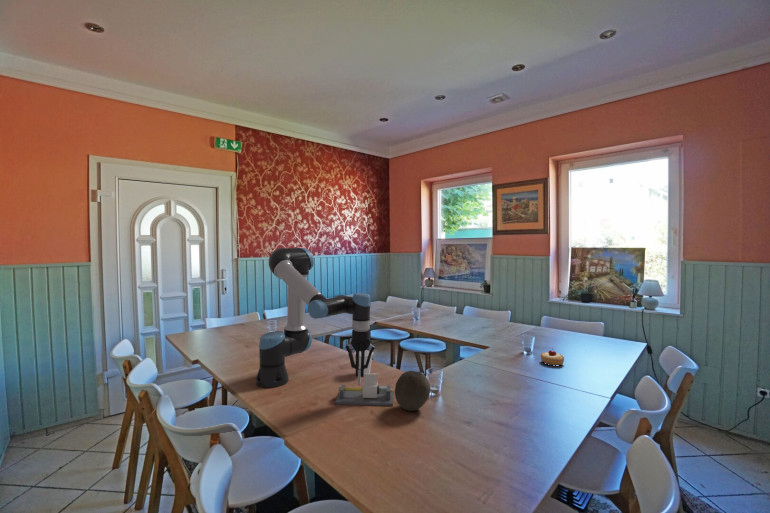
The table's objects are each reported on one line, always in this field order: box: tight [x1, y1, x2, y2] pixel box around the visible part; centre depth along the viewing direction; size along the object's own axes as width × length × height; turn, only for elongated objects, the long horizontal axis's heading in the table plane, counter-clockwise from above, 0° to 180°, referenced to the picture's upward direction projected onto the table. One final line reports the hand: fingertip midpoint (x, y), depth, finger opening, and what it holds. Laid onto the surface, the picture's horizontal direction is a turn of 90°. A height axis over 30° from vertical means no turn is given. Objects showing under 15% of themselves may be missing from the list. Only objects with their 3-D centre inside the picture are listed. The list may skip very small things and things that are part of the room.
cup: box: [353, 349, 374, 377], centre depth 184 cm, size 10×10×11 cm
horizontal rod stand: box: [334, 384, 395, 407], centre depth 154 cm, size 24×12×6 cm, turn 87°
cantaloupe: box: [394, 370, 431, 412], centre depth 145 cm, size 14×14×15 cm
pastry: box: [540, 348, 565, 366], centre depth 201 cm, size 12×12×9 cm
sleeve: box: [362, 372, 379, 398], centre depth 154 cm, size 6×5×10 cm
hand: (359, 383), depth 154 cm, fingers closed
